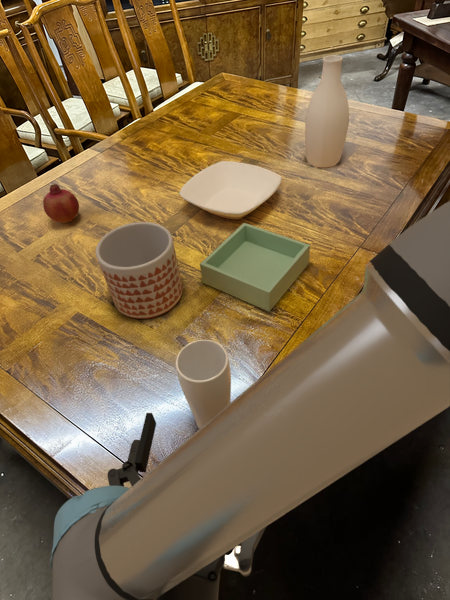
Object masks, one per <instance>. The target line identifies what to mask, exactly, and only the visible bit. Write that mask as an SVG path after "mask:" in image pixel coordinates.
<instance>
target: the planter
mask: <svg viewBox="0 0 450 600" xmlns="http://www.w3.org/2000/svg"><path fill="white" fill-rule="evenodd" d="M95 257H96V260H97V262H98V265H99V267H100V270H101V272H102V276H103V278H104V280H105V284H106V286H107V288H108V290H109V294H110V295H111V298H112V302H113V303H114V306H115V308H116V310H118V312H120V313H121V314H122V315H124V316H126V317H129V318H132V319H137V320H138V319H139V320H145V319H153V318H157V317H159V316H162V315H164V314H166V313H167V312H169V311H170V310H172V309H174V307H175V306H176V305H178V303H179V301H180V299H181V298H182V296H183V290H184V287H183V282H182V277H181V272H180V267H179V262H178V258H177V253H176V249H175V243H174V239H173V235H172V233H171V232H170V230H169V229H167V228H166V227H165V226H163V225H162V224H159V223H155V222H151V221H137V222H130V223H125V224H123V225H120V226H117V227H115V228H113V229H112V230H110V231H108V232H107V233H105V234H104V235H103V236H102V237H101V238H100V240H99V241H98V243H97V244H96V247H95Z"/></svg>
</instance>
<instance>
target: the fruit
mask: <svg viewBox="0 0 450 600" xmlns="http://www.w3.org/2000/svg"><path fill="white" fill-rule="evenodd" d="M42 203H43V204H42V207H43V211H44V213H45V214H46V216H47V217H49V218H50V219H51V221H55V222H57V223H63V224H65V223H70V222H72V221H73V220H74V219H75V218H76V217H77V215H78V214H79V210H80V204H79V200H78V198H77V197H76V195H75V194H74V193H72V192H71V191H70V190H67V189H63V188H61V187H60V186H59V185H58V184H56V183H54V184H51V185H50V186H49V192H47V193H46V194H45V196H44V197H43V200H42Z"/></svg>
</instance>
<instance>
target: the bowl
mask: <svg viewBox="0 0 450 600" xmlns="http://www.w3.org/2000/svg"><path fill="white" fill-rule="evenodd" d="M282 179H283V178H282V176H281V175H280V174H278V173H276V172H274V171H273V170H270V169H268V168H265V167H262V166H258V165H255V164H251V163H250V164H249V163H246V162H240V161H234V160H232V161H231V160H221V161H218V162H216V163H213V164H211V165H209V166H207V167H205V168H203V169H202V170H200V171H199V172H198V173H195V174H194V175H193V176H192V177H191V178H189V179H188V180H187V181H186V182H185V183H184V184H183V185H182V187H181V189H180V190H179V192H178V196H181V198H182V199H183V200H184V201H187V202H188V203H190V204H192V205H194V206H196V207H197V208H199V209H202V210H204V211H206V212H207V213H209V214H211V215H213V216H216V217H220V218H224V219H227V220H229V219H230V220H240V219H242V218H244V217H246V216H248V215H249V214H250V213H252V212H253V211H255V210H256V209H257V208H258V207H260V206H261V205H262V204H264V203H265V202H266V201H267V200H268V199H269V198H271V197H272V196H273V195H274V193H276V191H277V190H278V188H279V187H280V185H281V183H282Z"/></svg>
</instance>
